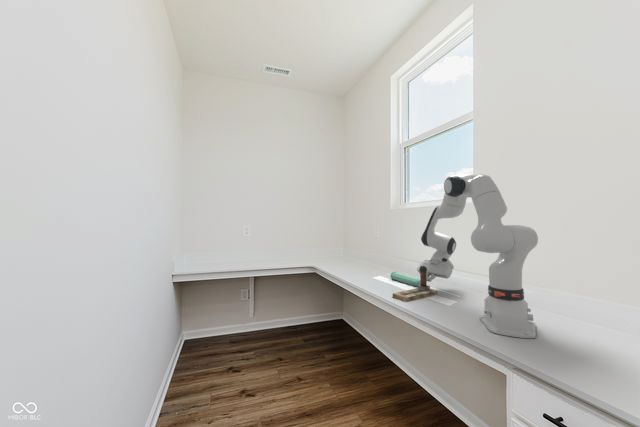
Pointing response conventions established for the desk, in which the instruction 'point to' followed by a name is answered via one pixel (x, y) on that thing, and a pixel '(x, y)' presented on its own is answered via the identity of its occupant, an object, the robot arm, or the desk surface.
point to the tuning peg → (423, 279)
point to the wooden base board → (413, 294)
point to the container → (405, 279)
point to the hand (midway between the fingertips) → (427, 280)
